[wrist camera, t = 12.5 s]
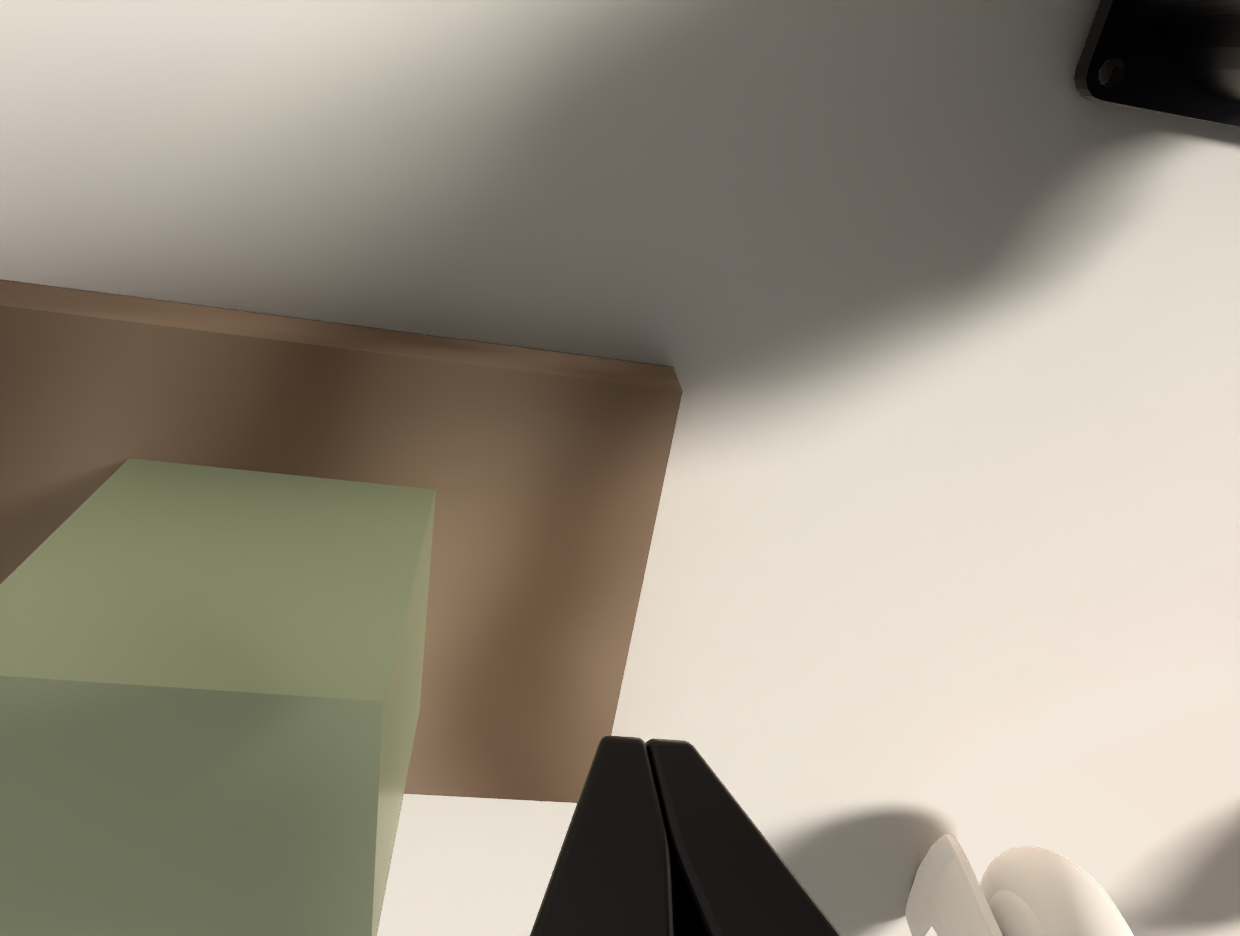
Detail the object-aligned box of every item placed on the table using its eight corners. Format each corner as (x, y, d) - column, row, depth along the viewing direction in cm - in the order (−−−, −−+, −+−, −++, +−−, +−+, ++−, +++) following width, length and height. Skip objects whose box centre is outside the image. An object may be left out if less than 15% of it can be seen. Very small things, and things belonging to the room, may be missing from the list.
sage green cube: (435, 489, 18) (382, 701, 12) (419, 709, 21) (369, 971, 15) (129, 458, 17) (-88, 670, 11) (152, 692, 20) (-12, 962, 14)
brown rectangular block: (672, 367, 19) (731, 513, 13) (593, 762, 24) (610, 997, 18) (-116, 264, 17) (-489, 384, 11) (-17, 724, 22) (-230, 980, 16)
